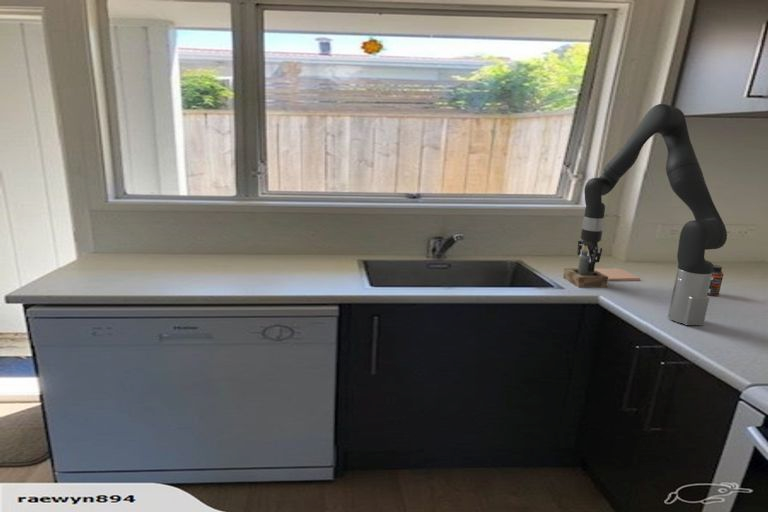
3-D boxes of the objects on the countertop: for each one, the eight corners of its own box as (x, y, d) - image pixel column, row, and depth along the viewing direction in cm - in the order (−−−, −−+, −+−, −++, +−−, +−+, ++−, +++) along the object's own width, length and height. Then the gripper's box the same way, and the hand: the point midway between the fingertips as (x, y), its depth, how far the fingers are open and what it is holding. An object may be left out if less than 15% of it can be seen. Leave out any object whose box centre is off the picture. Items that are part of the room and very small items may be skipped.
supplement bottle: (710, 297, 172) (716, 268, 169) (696, 291, 178) (702, 264, 175) (722, 296, 174) (729, 267, 171) (708, 290, 179) (714, 263, 176)
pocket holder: (606, 286, 181) (608, 277, 180) (578, 287, 180) (579, 277, 179) (590, 277, 193) (591, 268, 191) (563, 277, 191) (564, 268, 190)
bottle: (576, 282, 185) (580, 246, 181) (577, 279, 190) (582, 244, 186) (591, 285, 182) (597, 248, 178) (592, 281, 187) (597, 245, 183)
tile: (639, 280, 190) (640, 278, 190) (608, 280, 188) (608, 278, 188) (619, 270, 203) (619, 268, 203) (589, 270, 202) (590, 268, 201)
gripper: (611, 232, 174) (605, 274, 178) (591, 224, 188) (585, 264, 192) (593, 232, 173) (587, 274, 177) (574, 224, 187) (568, 264, 191)
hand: (586, 268), depth 185 cm, fingers closed on bottle, 5 cm apart
